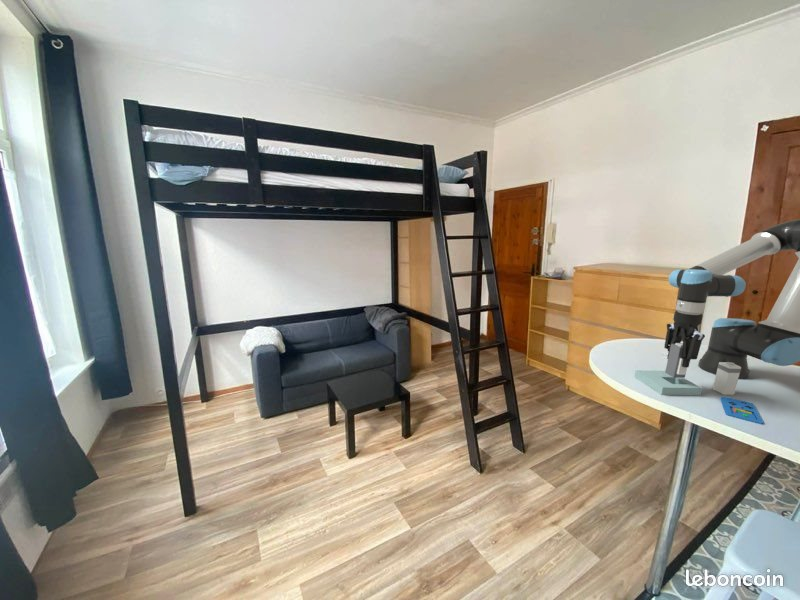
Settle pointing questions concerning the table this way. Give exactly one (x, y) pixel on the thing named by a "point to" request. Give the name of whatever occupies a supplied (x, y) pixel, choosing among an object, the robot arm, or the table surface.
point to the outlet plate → (667, 383)
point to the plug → (674, 360)
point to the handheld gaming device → (741, 410)
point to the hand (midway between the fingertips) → (675, 371)
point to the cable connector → (726, 378)
